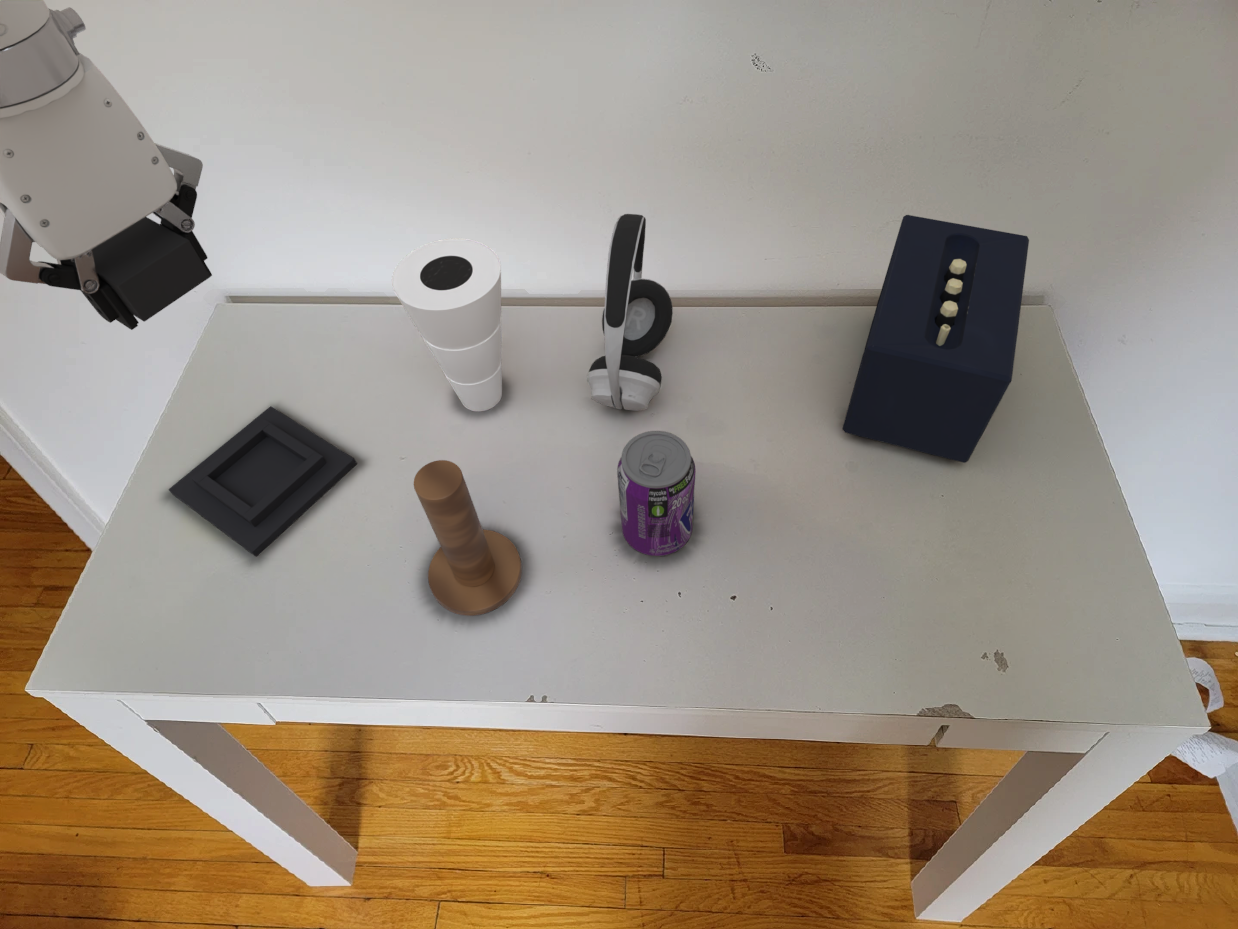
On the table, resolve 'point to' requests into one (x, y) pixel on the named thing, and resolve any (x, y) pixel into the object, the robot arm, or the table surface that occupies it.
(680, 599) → the table surface
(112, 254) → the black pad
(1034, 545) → the table surface
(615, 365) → the headphones
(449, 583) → the stand
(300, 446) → the base pad
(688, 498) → the beverage can
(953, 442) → the speaker
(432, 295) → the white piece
